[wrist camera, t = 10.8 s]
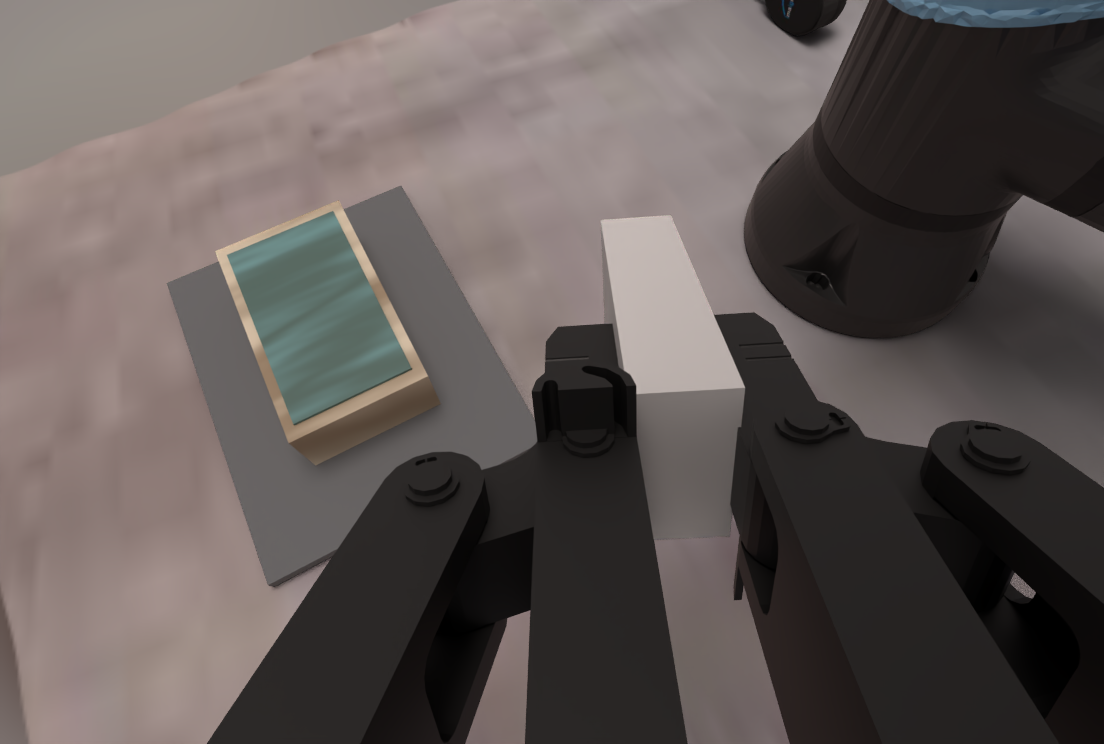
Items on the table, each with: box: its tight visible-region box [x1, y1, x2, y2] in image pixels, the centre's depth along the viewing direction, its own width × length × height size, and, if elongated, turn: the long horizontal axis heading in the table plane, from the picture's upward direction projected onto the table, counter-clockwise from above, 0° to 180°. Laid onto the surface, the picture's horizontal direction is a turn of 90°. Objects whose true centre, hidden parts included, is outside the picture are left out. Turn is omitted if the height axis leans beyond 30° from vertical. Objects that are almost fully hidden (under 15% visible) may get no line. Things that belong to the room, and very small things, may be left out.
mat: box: [167, 186, 537, 587], centre depth 41 cm, size 22×17×1 cm
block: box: [215, 200, 441, 465], centre depth 39 cm, size 4×8×14 cm
